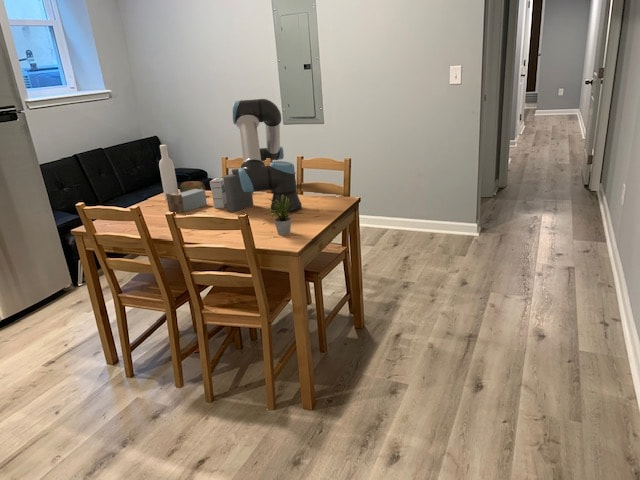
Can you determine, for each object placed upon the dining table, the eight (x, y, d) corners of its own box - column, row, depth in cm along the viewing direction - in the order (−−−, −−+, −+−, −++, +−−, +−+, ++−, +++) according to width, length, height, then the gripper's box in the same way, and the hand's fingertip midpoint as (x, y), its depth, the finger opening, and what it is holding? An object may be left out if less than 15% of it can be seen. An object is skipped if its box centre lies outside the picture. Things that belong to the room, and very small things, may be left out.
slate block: (206, 204, 266) (204, 190, 264) (184, 212, 255) (181, 196, 253) (197, 203, 271) (194, 188, 268) (174, 210, 260) (171, 195, 257)
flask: (248, 204, 261) (243, 165, 254) (255, 205, 257) (251, 166, 250) (224, 211, 251) (219, 171, 245) (231, 212, 247) (226, 172, 241)
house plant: (266, 228, 219) (262, 192, 213) (298, 225, 219) (295, 189, 214) (265, 239, 205) (261, 200, 200) (299, 236, 206) (296, 197, 200)
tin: (180, 196, 288) (178, 182, 285) (183, 195, 290) (180, 180, 288) (204, 196, 284) (202, 181, 281) (207, 195, 287) (204, 180, 284)
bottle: (161, 199, 283) (152, 146, 273) (170, 196, 290) (161, 143, 280) (173, 200, 280) (164, 146, 270) (182, 196, 287) (173, 143, 277)
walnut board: (184, 211, 255) (181, 194, 252) (181, 212, 254) (178, 195, 251) (172, 209, 261) (169, 192, 258) (168, 210, 259) (165, 193, 256)
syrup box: (224, 208, 256) (220, 180, 252) (213, 208, 258) (209, 180, 253) (228, 205, 262) (224, 177, 257) (217, 205, 263) (214, 178, 258)
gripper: (251, 183, 287) (220, 192, 270) (235, 181, 295) (204, 190, 277) (249, 170, 285) (218, 178, 267) (233, 168, 293) (202, 177, 275)
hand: (211, 184), depth 272 cm, fingers closed
